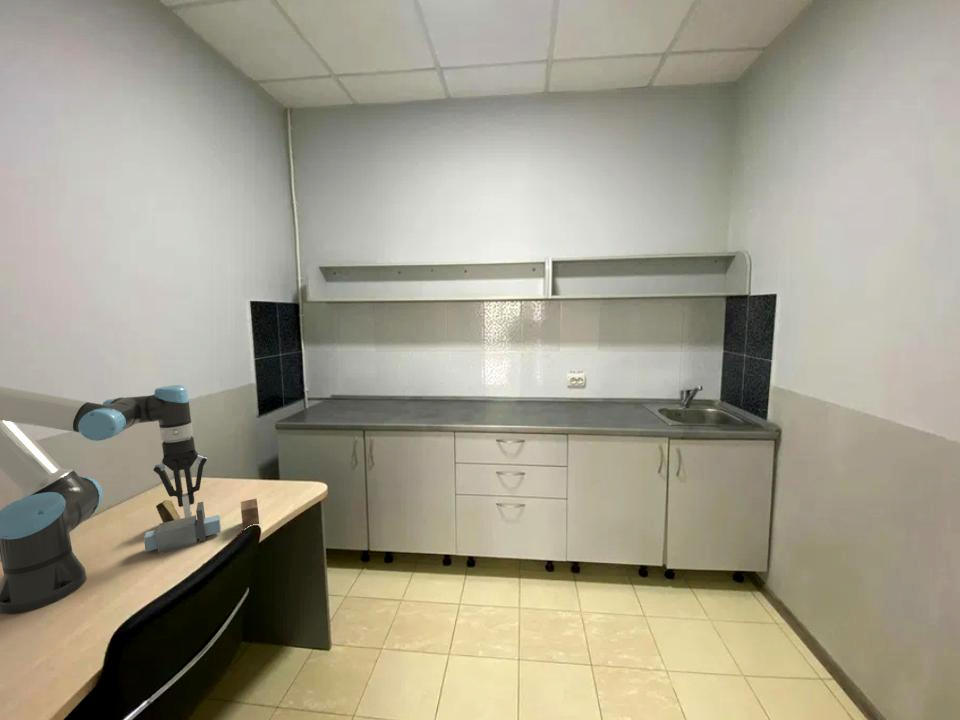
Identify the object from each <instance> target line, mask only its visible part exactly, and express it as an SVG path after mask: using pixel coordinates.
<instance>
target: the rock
mask: <svg viewBox="0 0 960 720" xmlns="http://www.w3.org/2000/svg"><path fill="white" fill-rule="evenodd" d="M155 508H156V510H157V512H158V514H159V516H160V519H161V521H162V523H165V522H169V521H173V520H178V519H181V516H180V515H179V514H178V511H177V510H176V507H175V505H174V503H173V500H169V499H165V500H163V501H162V502H160V503H158V504H156V505H155Z"/></svg>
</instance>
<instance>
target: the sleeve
mask: <svg viewBox="0 0 960 720" xmlns="http://www.w3.org/2000/svg"><path fill="white" fill-rule="evenodd" d="M196 520H197V514H196V515H191V517H187V518H185V517H183V518H180V519H178V520H173V521H169V522H165V523H163V522H162V523H159V524H158V526H157V529H156V530H157V532H156V537H157V544H158V549H157V550H158V555H159V554H163V553H166V552H167V553H168V552H171V551H174V550H175V551H176V550H178V549H182V548H186V547H189V546H190V547H191V546H193V545H194V546H195V545H197V544H198V539H199V538H197V539H196V530H195V521H196Z"/></svg>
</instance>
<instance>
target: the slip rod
mask: <svg viewBox="0 0 960 720" xmlns="http://www.w3.org/2000/svg"><path fill="white" fill-rule="evenodd" d="M204 505H205V504H204V501H200V502H197V503H196V510H195V512H196V519H197V520H196V521H195V530H196V539H197V538H198V539H199V543H200V542H205V541H206V540H207V537H208V536H211V535H212V536H213V535H216V534H219V533H221V526H222V525H221V519H220V518H221V517H220V514H216V515H211V516H209V517H206V515H205V514H206V513H205V507H204ZM156 532H157V529H154V530H149V531H146V532H145V535H144V536H143V537H144V538H143V541H144V542H143V544H144V549H145V552H149V551H153V550H158V544H157V537H156Z"/></svg>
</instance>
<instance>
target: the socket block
mask: <svg viewBox="0 0 960 720" xmlns="http://www.w3.org/2000/svg"><path fill="white" fill-rule="evenodd" d="M240 514H241V522H242V531H243V530H244V529H245V528H247V527H248V526H250V525H253V524H259V525H260V517H259V509H258V499H257V498H256V497H255V498H251V499H248V500H243V501H240Z"/></svg>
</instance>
